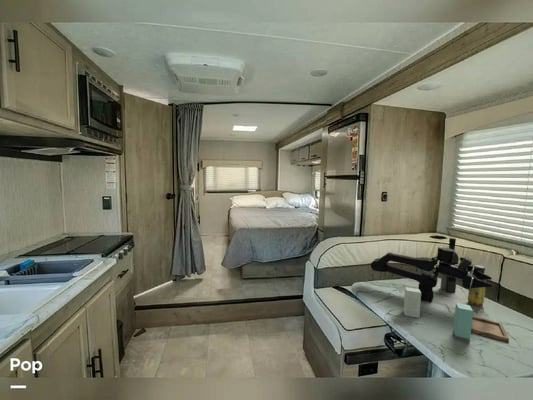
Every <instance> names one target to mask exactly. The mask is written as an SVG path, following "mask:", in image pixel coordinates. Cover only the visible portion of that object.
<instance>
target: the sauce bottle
mask: <svg viewBox="0 0 533 400" xmlns="http://www.w3.org/2000/svg"><path fill="white" fill-rule="evenodd" d="M474 266H475V267H476V269H477V270H478V271H480V272H482V273H484V274H485V271H486V267H485V266H483V265H479V264H478V265H477V264H475V265H474ZM479 280H482V281H484V282H487V280H483V279H479ZM486 288H487V287H481V288H472V289H471V285H470V288H469V289H468V295H467V302H468V304H469V305H472V306H475V307H483V306H484V303H485V295H486Z"/></svg>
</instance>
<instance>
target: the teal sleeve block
mask: <svg viewBox="0 0 533 400" xmlns="http://www.w3.org/2000/svg"><path fill="white" fill-rule="evenodd" d="M470 305H471V304H463V303H458V302H456V303H455V306H454V307H455V308H454V310H455V311H454V319H453V330H452V334H453V337H454V338H455V340H456V341H460V342H461V341H462V342H464V343H470V342H471V333H472V332H471V326H472V316H474V315H473V314H474V310H473V309H472V307H471V306H470Z"/></svg>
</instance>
